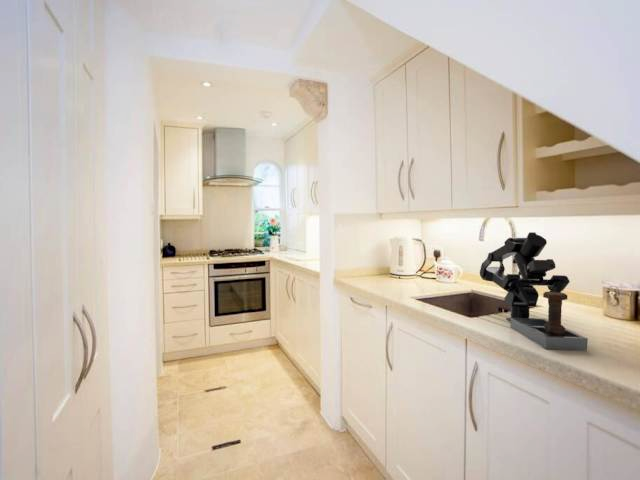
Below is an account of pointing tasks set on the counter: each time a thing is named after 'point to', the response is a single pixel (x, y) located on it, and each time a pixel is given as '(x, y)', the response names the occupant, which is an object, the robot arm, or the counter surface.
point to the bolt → (554, 313)
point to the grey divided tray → (539, 335)
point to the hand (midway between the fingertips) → (543, 304)
